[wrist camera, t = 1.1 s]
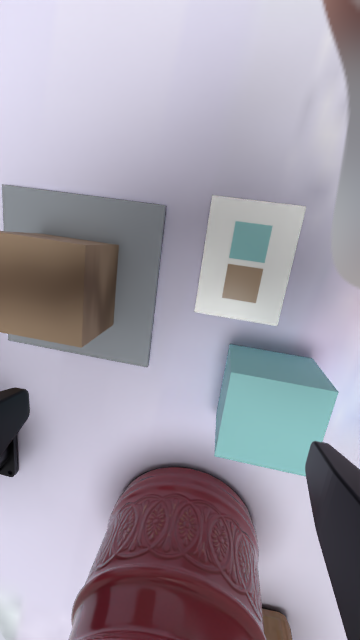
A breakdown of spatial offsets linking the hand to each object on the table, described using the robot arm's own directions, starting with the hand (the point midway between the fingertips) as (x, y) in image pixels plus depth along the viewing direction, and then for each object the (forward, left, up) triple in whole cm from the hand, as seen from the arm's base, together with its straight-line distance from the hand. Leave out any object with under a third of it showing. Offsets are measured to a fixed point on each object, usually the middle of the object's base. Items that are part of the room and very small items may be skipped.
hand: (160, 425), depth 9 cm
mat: (+2, +9, -13) cm, 16 cm away
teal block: (-4, -6, -13) cm, 15 cm away
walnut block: (+2, +9, -12) cm, 16 cm away
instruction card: (+5, -3, -13) cm, 14 cm away
